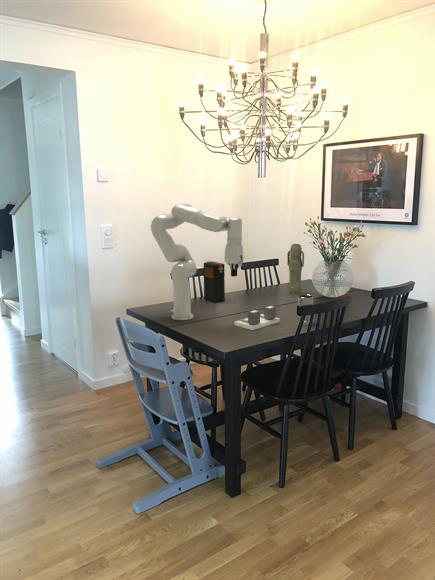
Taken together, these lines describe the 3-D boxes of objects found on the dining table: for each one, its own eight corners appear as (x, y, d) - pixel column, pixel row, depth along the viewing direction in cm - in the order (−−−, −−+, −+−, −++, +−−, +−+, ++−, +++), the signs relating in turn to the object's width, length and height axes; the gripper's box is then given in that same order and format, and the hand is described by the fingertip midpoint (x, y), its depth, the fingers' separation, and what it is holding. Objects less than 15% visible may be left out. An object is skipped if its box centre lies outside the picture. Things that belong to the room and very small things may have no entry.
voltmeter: (226, 301, 304) (226, 263, 299) (215, 303, 299) (215, 264, 294) (213, 297, 317) (212, 260, 311) (202, 298, 312) (201, 261, 307)
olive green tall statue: (288, 292, 328) (289, 243, 320) (305, 294, 322) (306, 243, 315) (284, 295, 320) (285, 244, 313) (300, 296, 314) (302, 245, 307)
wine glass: (314, 324, 249) (315, 297, 246) (301, 325, 246) (302, 298, 243) (308, 320, 256) (308, 294, 253) (294, 321, 254) (295, 295, 251)
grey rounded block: (247, 322, 244) (248, 311, 242) (254, 321, 247) (254, 309, 246) (253, 324, 241) (253, 312, 239) (260, 322, 244) (260, 311, 243)
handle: (264, 318, 252) (264, 307, 251) (270, 316, 256) (270, 305, 254) (269, 319, 249) (269, 308, 248) (275, 317, 253) (275, 306, 252)
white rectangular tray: (234, 325, 249) (234, 321, 248) (261, 317, 263) (261, 313, 263) (252, 330, 239) (252, 326, 239) (279, 322, 254) (279, 318, 253)
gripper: (219, 240, 245) (219, 275, 249) (239, 243, 234) (239, 279, 238) (229, 239, 250) (229, 273, 254) (249, 242, 239) (249, 277, 243)
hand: (234, 276), depth 246 cm, fingers closed
